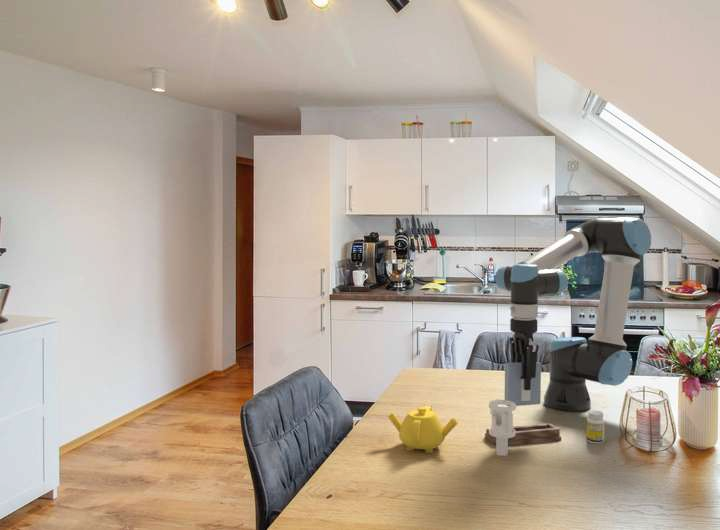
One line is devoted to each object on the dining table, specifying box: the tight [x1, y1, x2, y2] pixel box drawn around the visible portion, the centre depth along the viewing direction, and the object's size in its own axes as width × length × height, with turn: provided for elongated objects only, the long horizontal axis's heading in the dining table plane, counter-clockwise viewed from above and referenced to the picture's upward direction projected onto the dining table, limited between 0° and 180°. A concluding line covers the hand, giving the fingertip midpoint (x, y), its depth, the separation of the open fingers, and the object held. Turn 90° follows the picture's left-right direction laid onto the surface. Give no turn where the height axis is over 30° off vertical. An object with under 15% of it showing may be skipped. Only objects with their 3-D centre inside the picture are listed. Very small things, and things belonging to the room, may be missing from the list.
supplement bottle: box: [586, 409, 605, 445], centre depth 176 cm, size 5×5×8 cm
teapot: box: [387, 405, 458, 454], centre depth 173 cm, size 20×18×11 cm
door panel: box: [504, 361, 542, 407], centre depth 178 cm, size 10×3×12 cm, turn 103°
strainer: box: [488, 399, 517, 457], centre depth 167 cm, size 7×7×15 cm
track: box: [484, 423, 562, 446], centre depth 179 cm, size 20×8×3 cm, turn 103°
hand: (522, 398), depth 178 cm, fingers closed on door panel, 2 cm apart
